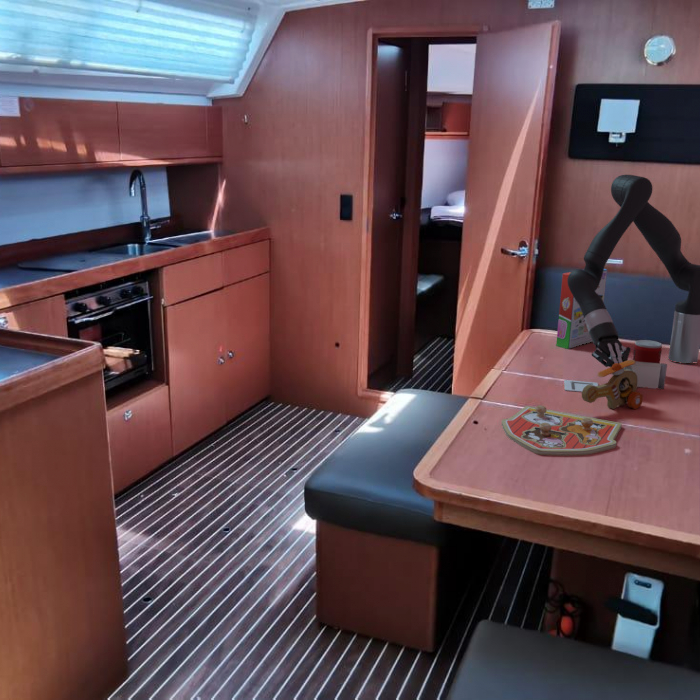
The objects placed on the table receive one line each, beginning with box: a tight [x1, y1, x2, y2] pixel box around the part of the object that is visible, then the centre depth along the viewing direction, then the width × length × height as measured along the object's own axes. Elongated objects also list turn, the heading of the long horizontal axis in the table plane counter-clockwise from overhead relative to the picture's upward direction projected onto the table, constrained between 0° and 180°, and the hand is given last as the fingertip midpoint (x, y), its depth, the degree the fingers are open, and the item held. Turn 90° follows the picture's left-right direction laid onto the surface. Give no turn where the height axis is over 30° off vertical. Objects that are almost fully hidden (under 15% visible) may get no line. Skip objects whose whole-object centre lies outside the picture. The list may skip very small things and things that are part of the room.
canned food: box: [632, 339, 663, 364], centre depth 235 cm, size 8×8×11 cm
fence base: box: [631, 361, 668, 390], centre depth 225 cm, size 2×13×8 cm, turn 76°
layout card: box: [563, 379, 599, 393], centre depth 224 cm, size 10×10×1 cm
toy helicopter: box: [581, 359, 644, 410], centre depth 204 cm, size 8×21×14 cm, turn 121°
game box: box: [555, 268, 608, 350], centre depth 270 cm, size 21×6×27 cm, turn 130°
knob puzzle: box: [501, 404, 623, 457], centre depth 187 cm, size 29×30×4 cm
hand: (621, 377), depth 217 cm, fingers closed
